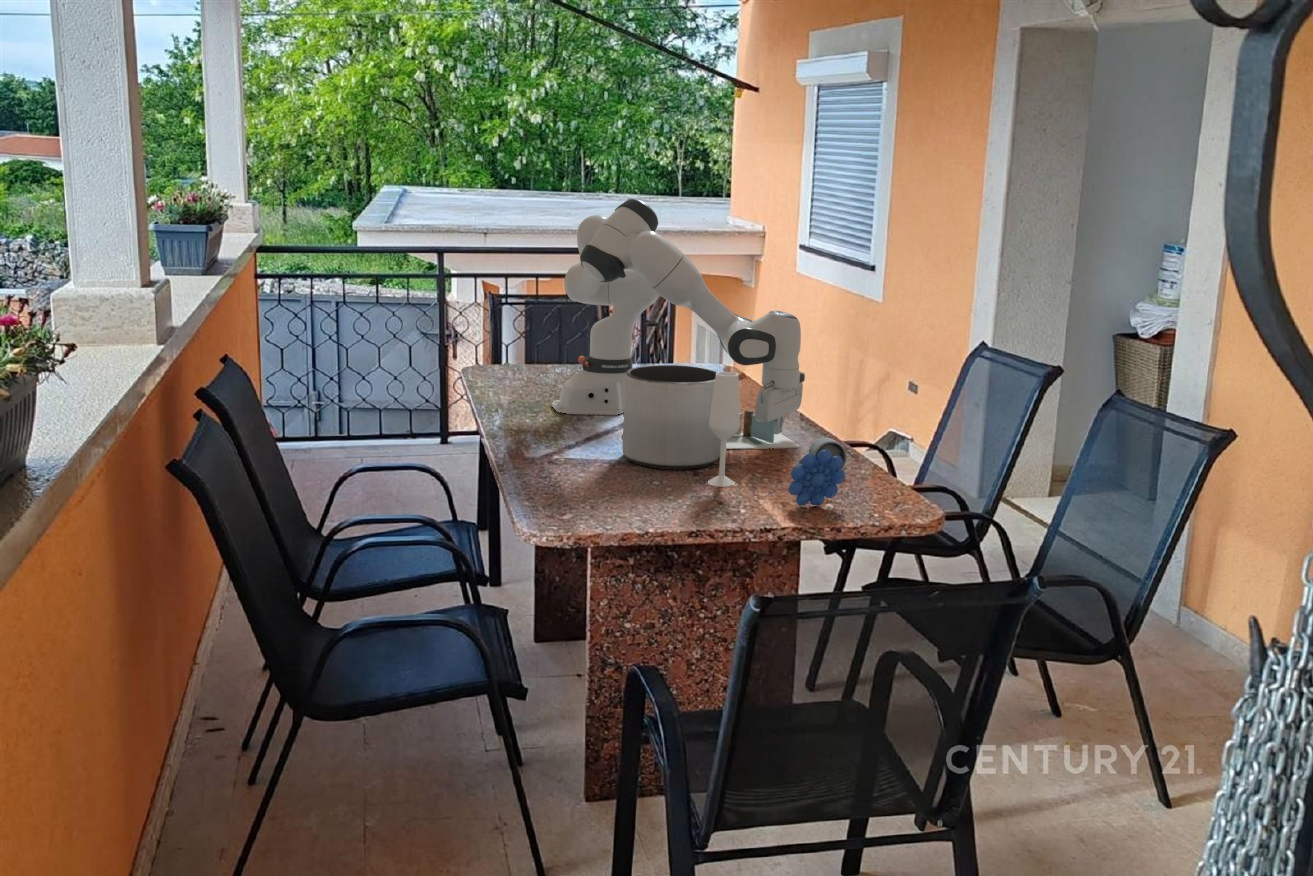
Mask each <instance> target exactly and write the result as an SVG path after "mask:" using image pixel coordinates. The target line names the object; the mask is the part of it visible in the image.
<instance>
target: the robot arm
mask: <svg viewBox="0 0 1313 876" xmlns="http://www.w3.org/2000/svg"><path fill="white" fill-rule="evenodd" d="M658 219H659V218H658V216H657V213H656V212H655V211H654V210H653V209H652V207H650V205H648V204H647V203H646V202H644V201H643V200H640V199H638V198H629V199H627V200H625V201H624V202H621V204H619V205H618V206H617V207H616V208H615V209H614V212H613V213H611V214H610V215H609V217H608V218H607V217H606V216H602V215H601V214H600V215H599V214H595V215H594V214H593V215H590V216H587V217H586V218H584V219H583V220H582V221H581V222H580V224H579V225H578V228H577V233H576V244H577V249H578V253H579V261H580V262H579V263H576V264H573V265H571V266H570V268H569V269H568V271H567V272H566V273H565V277H564V281H563V282H564V291H565V293H566V296H568V298H569V299H570V300H571V301H574V302H578V303H581V304H585V305H592V306H593V305H594V306H609V307H610V306H611V307H613V311H612V314H611V315H609V316H606V317H604V318H602V319H600V320H598V321H596V322H595V323H593V325H592V327H591V329H590V333H589V334H590V335H589V355H588V356H587V357H585V356H584V355H580V356H579V357H578V358H577V360H578V363H579V364H581V366H582V367H581V368H582V369H581V370H580V371H579V372H577V373H576V374H575V375H573V376H572V377H571V378H569V379H568V380H567V381H565V382H564V383H563V385H562V387H561V391H560V397H559V399H557V400H556V399H555V400H554V401H552V403H551V408H552V407H553V408H554V409H555V410H556V411H555V410H554V409H553V408H552V409H553V410H554V411H555V412H557V413H560V412H562V413H561V414H563V413H566V415H593V414H594V415H595V416H596V415H598V416H601V415H602V416H619V415H618V414H620V415H622V414H623V413H622V412H624V404H625V380H626V371H628V370H629V369H632V368H633V358H632V356H631V355H632V354H631V353H632V342H633V340H632V339H633V333H634V328H635V325H636V322H637V320H638V319H639V317H640V316H641V315H642V314H643V312H644V311H646V310H647V309H648V308H649V307H651V306H652V305H653V304H654V303H655V302H656V301H657V300H658V298H659V297H661V298H663V299H665V300H666V301H668V302H669V303H670V304H673V305H674V306H679V307H684V308H686V309H689V310H690V311H692V312H693V313H695V314H696V315H697V316H698V317H699V318H700V319H701V320H702V321H703V322H705V323H706V324H707V326H709V327H710V328H711V329H712V330H713V331H714V332H715V333H716V334H717V337H718V339H719V341H720V344H721V347H722V349H724V351H725V352H726V353H727V354H728V356H729V357H730V358H731V359H732V361H733V362H735V363H736V364H738V365H741V366H754V365H760V364H762V369H761V370H762V371H761V385H762V388H761V389H760V390H759V391H757V396H756V400H755V401H756V402H755V408H754V409H755V411H754V414H755V419H756V421H758V422H764V423H769V422H771V421H773V420H774V421H776V423H775V427H774V434H776V435H777V434H779V433H781V434H782V432H783V426H784V423H785V421H786V415H788V414H790V413H793V412H794V411H797V410H799V409H800V407H801V405H802V404H801V403H802V401H803V400H802V399H803V391H804V384H803V383H804V382H805V381H806V373H805V372H803V371H800V364H799V363H800V362H799V354H800V351H801V344H802V343H801V341H802V339H801V338H802V336H801V335H802V334H801V333H802V329H801V323H800V320H799V319H798V317H796V316H795V315H793V314H791V313H789V312H785V311H783V310H781V311H780V310H770V311H769V312H768V313H767V314H765V315H763V316H761V317H760V318H758V319H756V320H754V321H753V320H752V319H750V318H747V317H744V316H741V315H738V314H737V313H736V314H735V313H734V312H733V311H732V310H730V309H729V308H728V307H727V306H726V305H725V304H724V303H722V301H721V300H720V299H718V298H717V297H716V296H715V294H713V293H712V291H711V290H710V289H709V288H708V286H707V284H706V283H705V280H704V277H703V274H701V272H700V271H699V269H698V268H697V266H696V265H695V264H694V262H692V260H690V258H689V257H687V255H686V254H684V252H683V251H681V250H680V249H679V248H678V247H677V246H675V245H674V244H673V243H672V242H670V241H669V240H667V239H666V238H665V237H663V235H660V234H659V233H658V232H656V231H657V228H658V226H659V220H658ZM621 413H622V414H621Z"/></svg>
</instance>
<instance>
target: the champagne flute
mask: <svg viewBox="0 0 1313 876" xmlns="http://www.w3.org/2000/svg"><path fill="white" fill-rule="evenodd" d="M717 372H718V373H716V376H715V383H714V390H713V397H712V404H711V411H710V418H709V427H710V429H711V431H712V432H713V433H714V434H715V435H716V436H717V438H719V439H720V440H721V447H720V457H719V467H718V469H719V470H718V475H717V476H715V477H713V478H711V479H709V480H707V481H708V484H710V485H717V486H730V485H735V483H736V482H735V481H733V480H732V479H731V478H729V477H728V476H726V475H725V473H726V455H727V454H726V452H727V450H726V440H728V439H730V438H731V437H732V436H733V435H734V434H735V433H736V432H737V431H738V430H739V428H740V413H741V412H740V411H741V410H740V384H739V373H737V372H731V371H730V372H729V371H717Z"/></svg>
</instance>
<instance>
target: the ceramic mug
mask: <svg viewBox="0 0 1313 876" xmlns="http://www.w3.org/2000/svg"><path fill="white" fill-rule="evenodd" d="M809 446H810V447H809V449H808V454H809V453H811V454H814V455H816V457H817V454H818V453H819V452H820V451H822V450H829V451H830V452H831V458H832V457H833V456H840V457H841V458H842V462H843V464H842V466H841V468H839V469H841V470H843V469H844V468H845V465H846V464H847V461H848V460H847V458H848V457H847V451H846V449H845V447H844V446H843V444H841V443H839V442H838V441H837V440H835V439H834V438H831V437H829V436H822V437H818V438H816V439H815V440H813V442H812V443H811V444H810V445H809ZM802 459H803V457H802V458H800V459H799V460H797V461H796V462H795V467H796V466H803V465H802Z"/></svg>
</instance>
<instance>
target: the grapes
mask: <svg viewBox="0 0 1313 876" xmlns="http://www.w3.org/2000/svg"><path fill="white" fill-rule="evenodd" d="M802 458H803V459H802ZM802 458H801V459H802V465H803V466H796V465H795V466H794V467H793V468H792V470H791V472H790V477H791V479H792V480H793V481H792V482H790V484H789V486H788V493H789V494H790V495H791V496H792V495H793V496H796V498H795V500H796V503H797V505H799V506H806V505H807V504H810V505H811V504H812V505H817V506H818V505H820V506H822V504H823V503H824V502H825V498H826V499H832V498H834V497H836V495H837V494H838V492H839V488H838V485H840V484H841V483H843V482H844V481H845V479H846V473H845V470H843V469H842V470H841V469H839V468H841V466H842V464H843V462H842V458H841V457H840V456H833V457H832V458H831V452H830V451H829V450H822V451H820V452H819V453H818V454H817V457H816V455H814V454H811V453H809V452H808V453H807V454H805V455H804V456H803V457H802ZM812 505H811V506H812ZM818 507H819V506H818Z"/></svg>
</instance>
